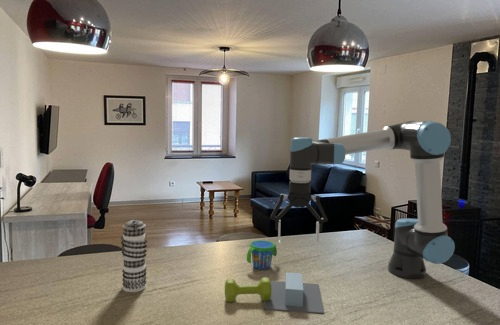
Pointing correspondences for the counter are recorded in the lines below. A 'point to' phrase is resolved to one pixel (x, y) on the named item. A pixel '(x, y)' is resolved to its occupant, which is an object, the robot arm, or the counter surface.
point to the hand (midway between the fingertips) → (298, 239)
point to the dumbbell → (248, 289)
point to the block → (293, 289)
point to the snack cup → (261, 253)
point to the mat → (310, 305)
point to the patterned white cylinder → (134, 256)
